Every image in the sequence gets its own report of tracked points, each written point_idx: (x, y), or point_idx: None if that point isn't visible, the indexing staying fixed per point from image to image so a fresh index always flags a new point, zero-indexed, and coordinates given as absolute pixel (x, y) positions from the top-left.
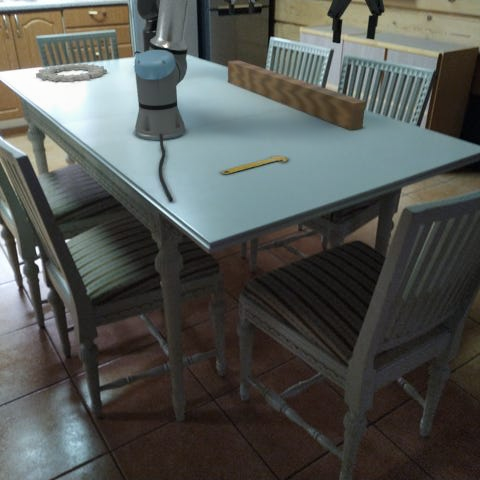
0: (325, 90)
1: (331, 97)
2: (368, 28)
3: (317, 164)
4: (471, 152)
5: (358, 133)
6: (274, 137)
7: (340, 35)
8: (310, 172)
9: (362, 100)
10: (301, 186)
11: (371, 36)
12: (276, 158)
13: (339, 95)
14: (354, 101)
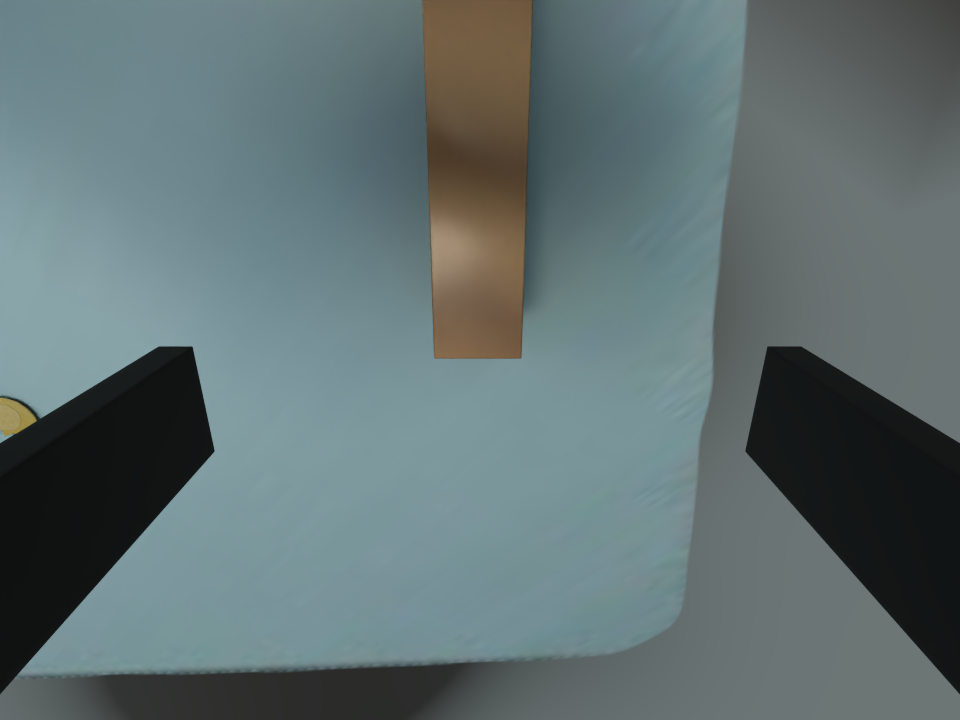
0: (488, 12)
1: (429, 166)
2: (846, 424)
3: None
4: (617, 645)
5: (446, 358)
6: (83, 210)
7: (154, 507)
8: None
9: (517, 338)
10: None
11: (766, 446)
12: (2, 417)
13: (480, 182)
14: (465, 331)
